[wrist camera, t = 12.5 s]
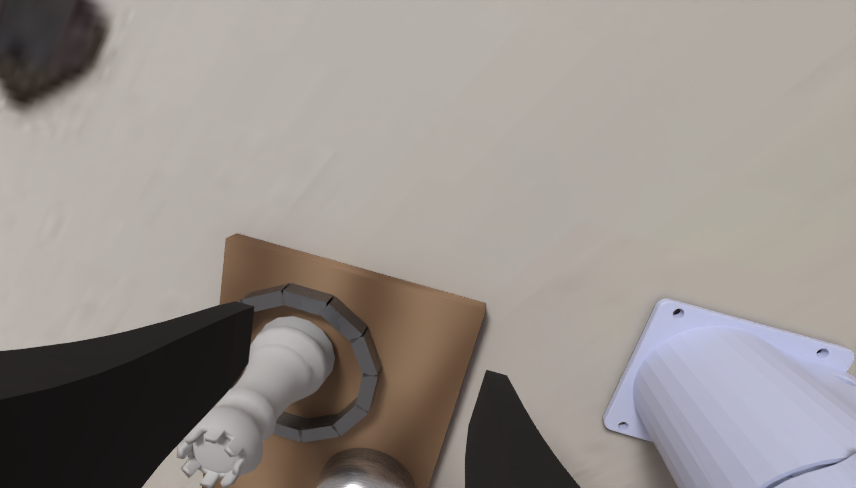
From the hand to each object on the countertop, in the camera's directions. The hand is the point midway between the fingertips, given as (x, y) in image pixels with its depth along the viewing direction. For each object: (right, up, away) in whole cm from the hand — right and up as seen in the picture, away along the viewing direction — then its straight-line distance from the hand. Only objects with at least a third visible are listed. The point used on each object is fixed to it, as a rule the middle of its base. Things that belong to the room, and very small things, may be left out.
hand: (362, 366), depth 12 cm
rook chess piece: (-5, -2, +11) cm, 12 cm away
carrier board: (-4, -6, +13) cm, 14 cm away
